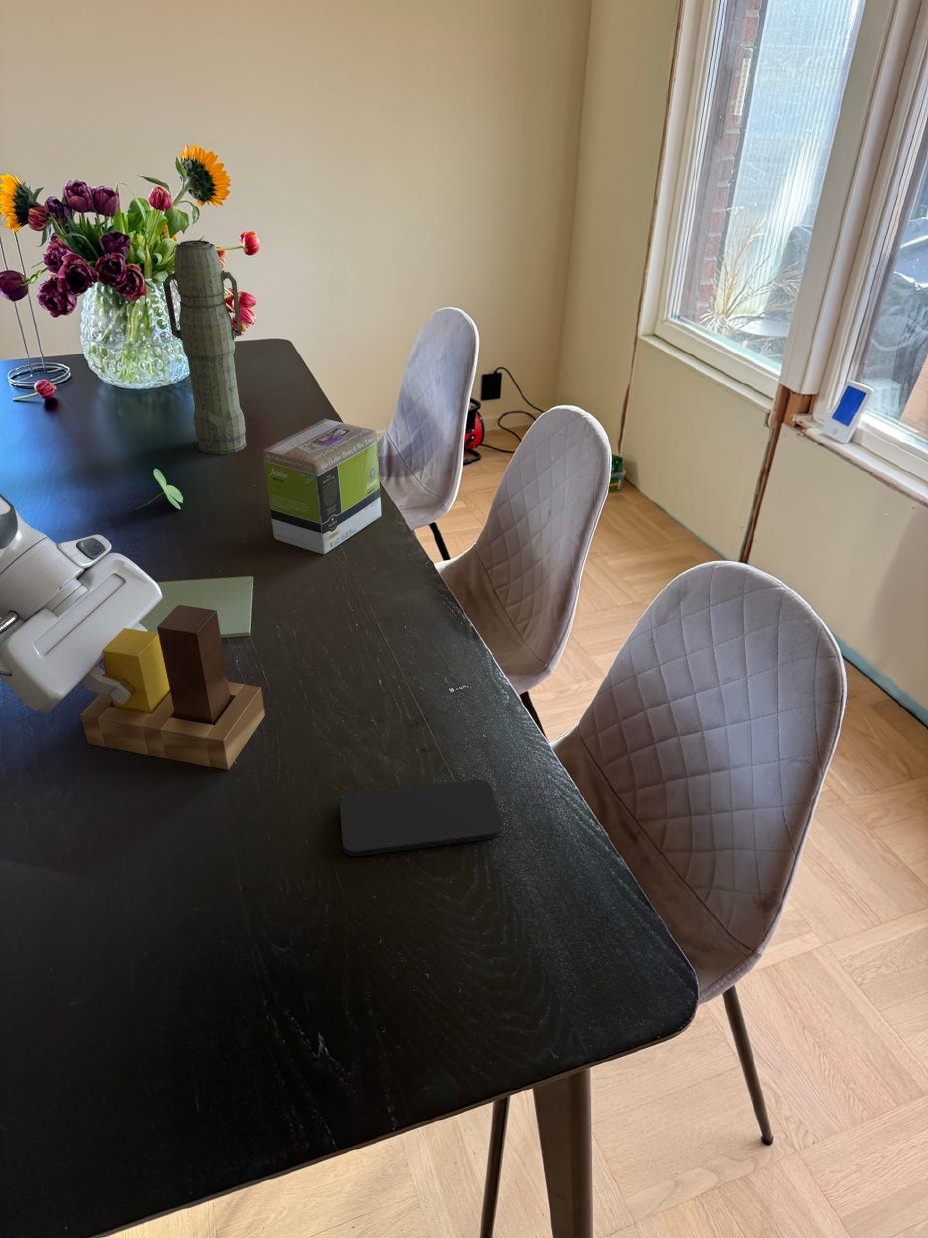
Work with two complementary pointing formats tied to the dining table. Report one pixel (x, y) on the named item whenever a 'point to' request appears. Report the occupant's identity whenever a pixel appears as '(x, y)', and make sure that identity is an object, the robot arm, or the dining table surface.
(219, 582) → the mat
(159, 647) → the yellow peg
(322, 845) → the dining table surface
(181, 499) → the seedling
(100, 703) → the stand
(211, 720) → the walnut peg
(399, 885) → the dining table surface
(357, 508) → the tea box
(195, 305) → the thermos
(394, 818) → the phone
